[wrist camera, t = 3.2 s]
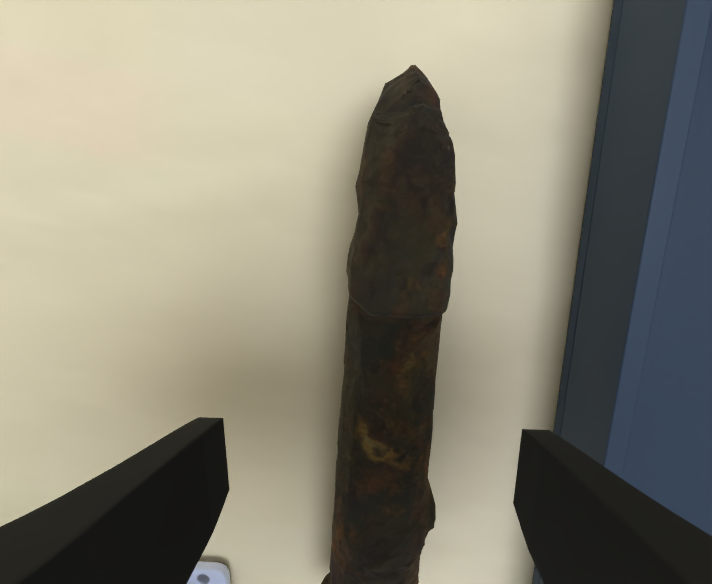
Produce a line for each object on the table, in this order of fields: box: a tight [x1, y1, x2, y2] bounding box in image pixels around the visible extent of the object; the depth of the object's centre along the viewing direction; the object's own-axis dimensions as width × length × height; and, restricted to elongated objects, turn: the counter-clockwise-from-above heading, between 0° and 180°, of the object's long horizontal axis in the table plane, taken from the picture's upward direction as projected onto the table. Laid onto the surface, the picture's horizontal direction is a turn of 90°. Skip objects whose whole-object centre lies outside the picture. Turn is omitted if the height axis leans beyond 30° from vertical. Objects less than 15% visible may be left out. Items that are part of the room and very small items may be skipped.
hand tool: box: [321, 65, 457, 584], centre depth 12 cm, size 19×4×5 cm, turn 175°
